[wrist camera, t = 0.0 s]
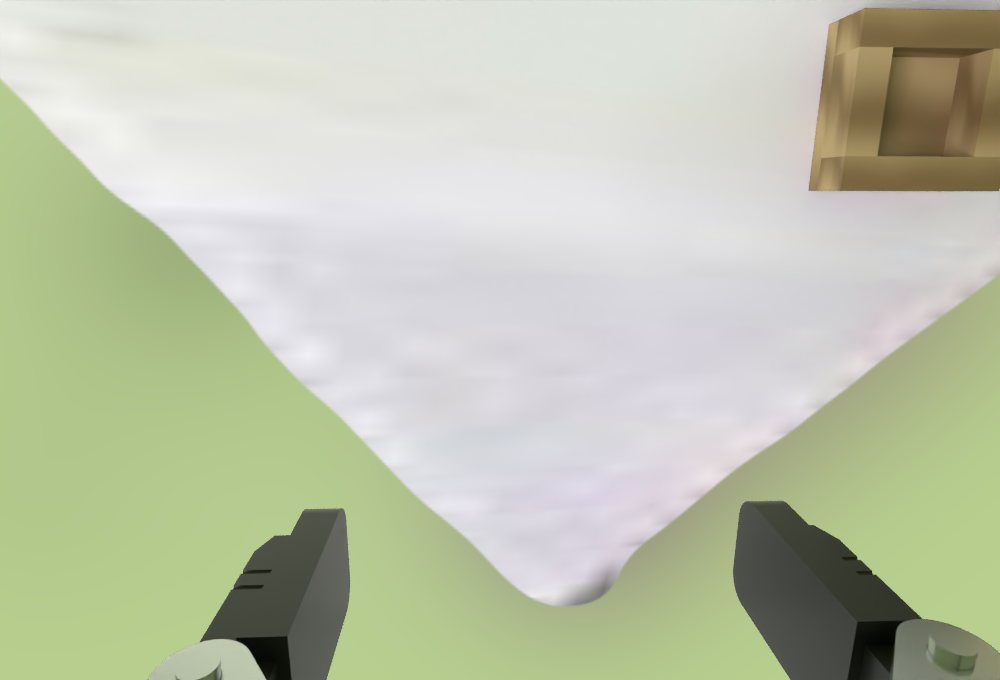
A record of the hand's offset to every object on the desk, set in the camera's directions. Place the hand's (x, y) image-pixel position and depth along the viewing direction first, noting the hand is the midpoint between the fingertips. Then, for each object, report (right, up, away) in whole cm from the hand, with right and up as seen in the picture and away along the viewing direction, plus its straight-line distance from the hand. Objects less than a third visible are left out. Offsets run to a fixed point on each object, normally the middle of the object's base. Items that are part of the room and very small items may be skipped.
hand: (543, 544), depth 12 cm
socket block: (+25, +19, +27) cm, 41 cm away
